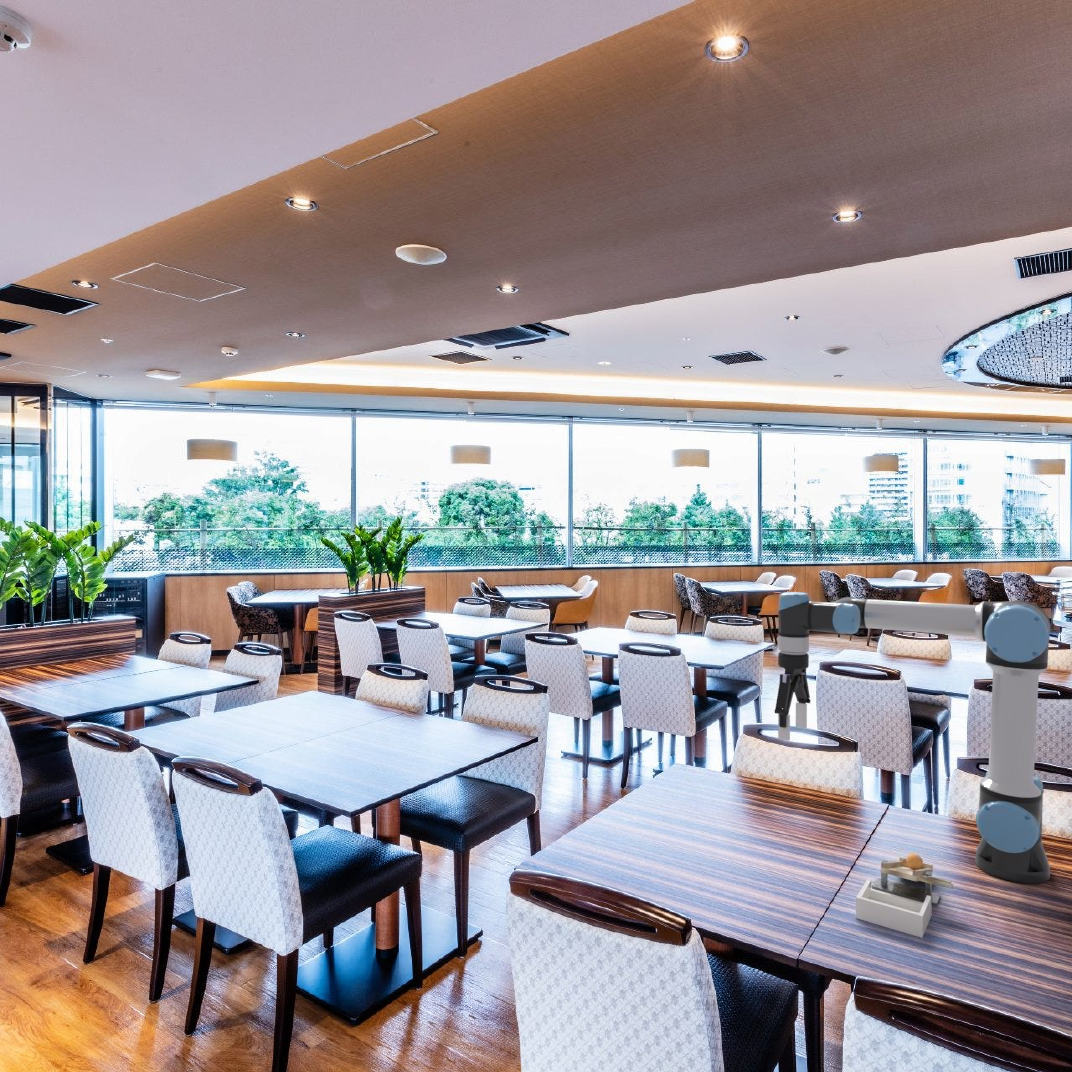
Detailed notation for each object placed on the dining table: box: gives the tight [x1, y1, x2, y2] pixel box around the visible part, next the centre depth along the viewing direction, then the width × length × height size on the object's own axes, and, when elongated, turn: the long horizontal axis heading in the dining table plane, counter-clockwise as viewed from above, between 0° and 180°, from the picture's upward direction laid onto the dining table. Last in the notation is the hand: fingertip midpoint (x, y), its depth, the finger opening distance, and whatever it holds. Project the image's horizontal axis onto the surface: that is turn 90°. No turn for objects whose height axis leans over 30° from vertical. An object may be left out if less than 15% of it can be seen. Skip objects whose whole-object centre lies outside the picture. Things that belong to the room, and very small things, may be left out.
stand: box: [871, 859, 941, 907], centre depth 171 cm, size 13×5×6 cm, turn 54°
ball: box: [905, 853, 924, 870], centre depth 179 cm, size 4×4×4 cm
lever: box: [880, 856, 954, 890], centre depth 170 cm, size 13×21×3 cm, turn 144°
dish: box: [855, 878, 933, 939], centre depth 161 cm, size 13×11×4 cm
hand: (792, 733), depth 199 cm, fingers open, 13 cm apart
